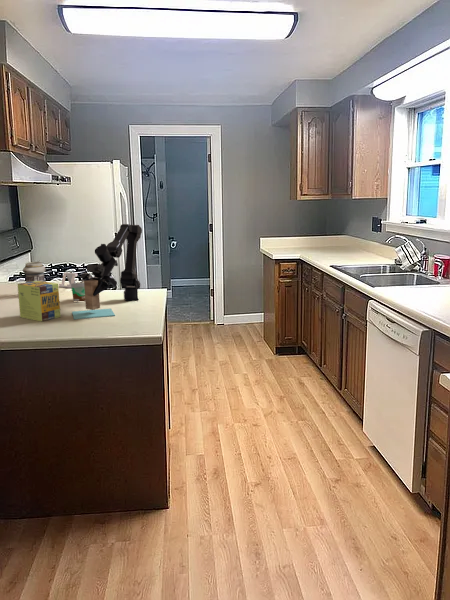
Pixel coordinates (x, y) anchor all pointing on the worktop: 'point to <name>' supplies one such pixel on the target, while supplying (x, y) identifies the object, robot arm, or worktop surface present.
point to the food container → (78, 291)
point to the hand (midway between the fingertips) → (89, 294)
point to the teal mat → (93, 313)
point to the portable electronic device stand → (70, 278)
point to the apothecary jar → (34, 271)
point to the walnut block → (91, 295)
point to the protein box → (39, 300)
